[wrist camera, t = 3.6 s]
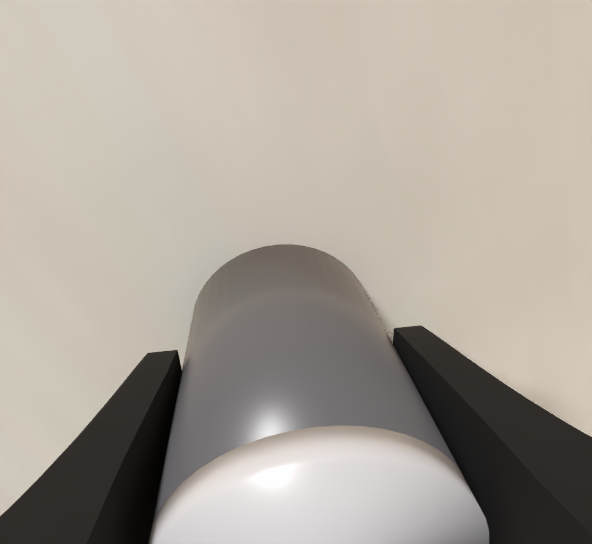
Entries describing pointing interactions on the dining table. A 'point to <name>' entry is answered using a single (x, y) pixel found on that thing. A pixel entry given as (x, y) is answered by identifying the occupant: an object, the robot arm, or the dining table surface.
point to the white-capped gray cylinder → (303, 419)
